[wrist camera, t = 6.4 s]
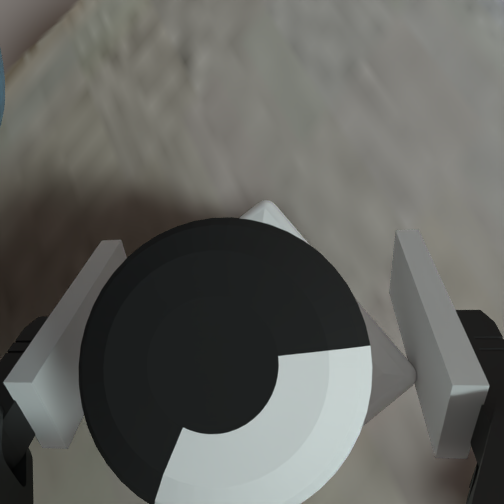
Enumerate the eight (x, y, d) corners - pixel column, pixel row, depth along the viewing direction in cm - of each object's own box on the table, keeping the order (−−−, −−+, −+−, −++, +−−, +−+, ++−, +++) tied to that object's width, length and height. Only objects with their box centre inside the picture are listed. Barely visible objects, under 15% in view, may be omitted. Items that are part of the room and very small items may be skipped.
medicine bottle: (161, 336, 21) (-31, 330, 9) (280, 241, 21) (245, 113, 9) (254, 469, 19) (169, 676, 7) (383, 365, 19) (502, 402, 7)
